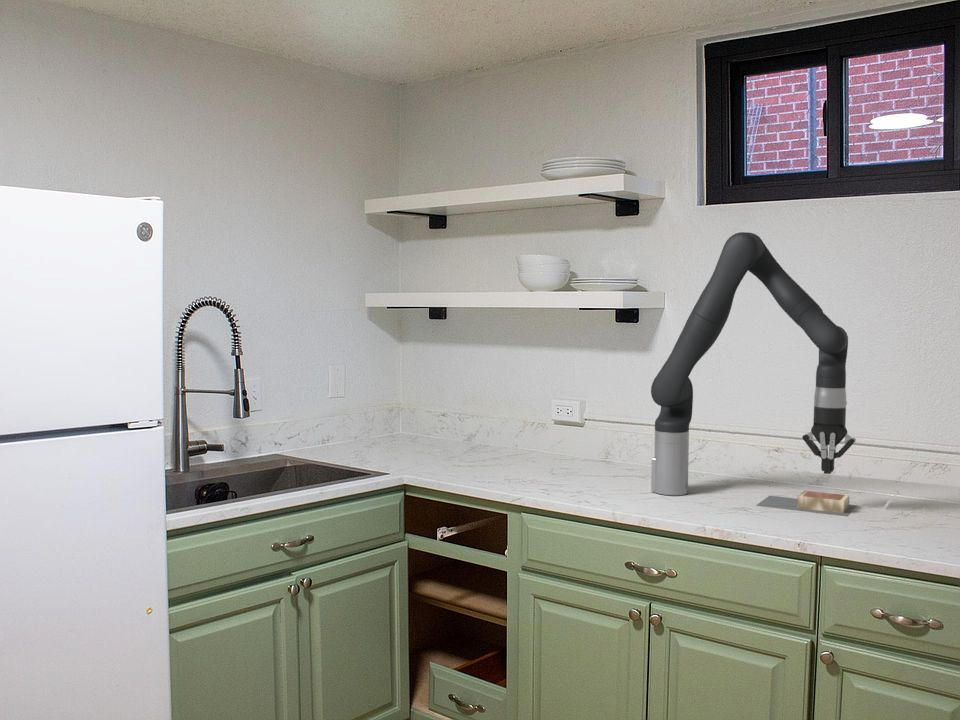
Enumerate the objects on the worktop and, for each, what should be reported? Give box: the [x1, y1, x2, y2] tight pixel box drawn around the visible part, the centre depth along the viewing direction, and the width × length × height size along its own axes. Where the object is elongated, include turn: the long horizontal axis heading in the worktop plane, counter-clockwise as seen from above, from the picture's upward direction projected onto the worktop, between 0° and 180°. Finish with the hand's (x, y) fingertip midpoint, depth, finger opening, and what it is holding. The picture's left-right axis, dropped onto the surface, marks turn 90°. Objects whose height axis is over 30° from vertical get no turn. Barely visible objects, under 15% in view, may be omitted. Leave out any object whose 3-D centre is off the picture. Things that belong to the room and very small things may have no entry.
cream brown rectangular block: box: [797, 490, 850, 513], centre depth 230 cm, size 3×8×11 cm
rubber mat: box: [755, 495, 858, 518], centre depth 232 cm, size 22×14×1 cm, turn 59°
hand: (827, 473), depth 229 cm, fingers closed
